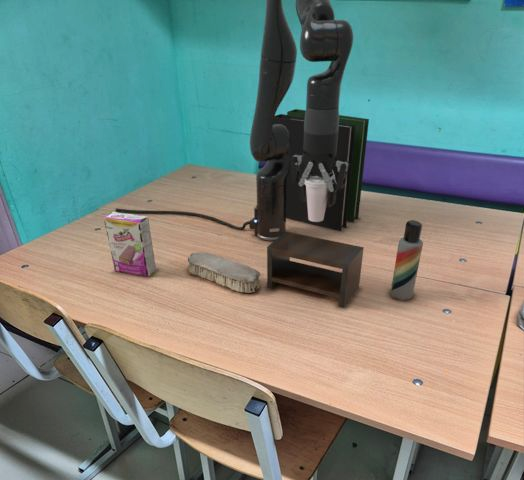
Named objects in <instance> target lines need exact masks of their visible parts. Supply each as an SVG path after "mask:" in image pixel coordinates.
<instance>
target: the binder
mask: <svg viewBox="0 0 524 480" xmlns="http://www.w3.org/2000/svg"><path fill="white" fill-rule="evenodd" d="M305 112H306V109H298V108H294V109H291V110H288V111H287V112H286V113H287V114H285V113H279V114H275V117H274V121H273V125H275V124H281V125H284V126H285V127H286V128H287V130H288V132H289V135H290V141H291V152H290V158H291V157H292V156H294V155H296V154H298V155H299V156H302V155H303V153H304V150H303V145H304V119H305ZM369 121H370V119H369V118H364V117H356V116H350V115H342V114H339V128H338V141H337V152H336V157H337V159H338V161H341V162H346V161H348V162H349V168H348V173H347V178H346V183H345V186H344V187H343V188H342V189H341V190H337V191H336V201H335V203H334V204H333V205H332V206H331V207H328V206H327V204H326V209H325V214H324V219H323V221H320V222H313V221H310V220H309V219H308V207H307V201H305V202H301V199H300V198H299V188H300V187H299V185H298V184H297V183H293V182H292V176H291V163H290V165H289V173H288V176H287V185H286V219H288V220H293V221H295V222H296V221H297V222H301V223H304V224H305V223H306V224H309V225H314V226H316V227H317V226H318V227H321V228H326V229H329V230H334V231H338V232H342V228H344V229H346V228H347V222H350V223H354V222H355V219H356V220H358V219H359V217H360V216H359V213H360V205H361V196H362V187H363V178H364V170H365V159H366V151H367V150H366V149H367V142H368V132H369V123H370V122H369ZM305 169H306V168H305V166H304V164H303V162H302V161H301V164H300V174H301V177H302V175H303V173H304V171H305ZM337 169H338V168H337V166H335V167H334V169H333V172H334V174H335V180H336V183H337V181H338V176H339V172H338V170H337Z"/></svg>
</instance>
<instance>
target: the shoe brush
mask: <svg viewBox="0 0 524 480" xmlns="http://www.w3.org/2000/svg"><path fill="white" fill-rule="evenodd" d="M187 262H188V268H187V269H188V273H189V274H191V275H193V276H194V275H195V276H198V277H200V278H201V279H207V280H208V281H210V282H215V283H216V284H217V285H219V286H222V287H226V288H228V289H230V290H232V291H235V292H237V293H245V294H250V293H251V294H252V293H255V292H256V290H258V289H259V288H260V276H261V272H260V271H258V270H257V269H255V268H252V267H250V266H249V265H246V264H243V263H240V262H238V261H235V260H232V259H229V258H227V257H223V256H220V255H217V254H212V253H209V252H204V251H203V252H202V251H201V252H200V251H199V252H192V253H190V254H189V256H188V257H187ZM255 289H256V290H255Z"/></svg>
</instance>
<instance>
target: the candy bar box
mask: <svg viewBox="0 0 524 480" xmlns="http://www.w3.org/2000/svg"><path fill="white" fill-rule="evenodd" d="M103 221H104V226H105V231H106V236H107V239H108V240H107V241H108V244H109V250H110V254H111V258H112V259H111V260H112V263H113V269H114V272H116V273H121V274H126V275H127V274H128V275H134V276H138V277H139V276H140V277H146V278H149V277H151V275H153V274H154V273H155V272H156V271H157V265H156V260H155V253H154V246H153V241H152V240H153V239H152V233H151V227H150V221H149V217H148V216H146V215H139V214H134V213H127V212H120V211H112V212H110V213H108V214H107V215H105V216H104V217H103Z"/></svg>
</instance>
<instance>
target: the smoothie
mask: <svg viewBox="0 0 524 480" xmlns="http://www.w3.org/2000/svg"><path fill="white" fill-rule="evenodd" d="M304 184H305V185H306V194H307V207H308V219H309V220H310V221H313V222H320V221H323V219H324V214H325V209H326V204H327V199H328V191H329V189H328V186H327V184H328V183H325V181H324V178H322V177H318V176H310V177H309V178H308V179H305V183H304Z"/></svg>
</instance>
